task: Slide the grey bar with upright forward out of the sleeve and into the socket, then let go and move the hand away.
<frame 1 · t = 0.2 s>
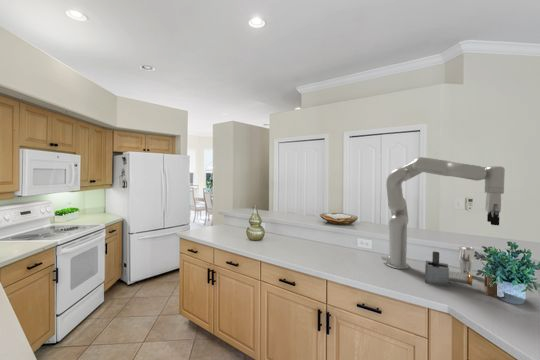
hand: (492, 223, 135), 31 cm above the worktop, fingers open, 9 cm apart
beer glass: (465, 275, 145), on the worktop
socket: (493, 292, 124), on the worktop
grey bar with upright: (449, 267, 133), point 9 cm above the worktop, slide at 0.0 cm
sleeve: (436, 281, 136), on the worktop
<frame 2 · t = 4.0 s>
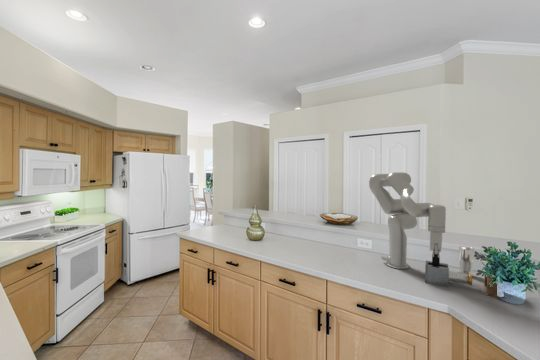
hand: (435, 263, 136), 10 cm above the worktop, fingers closed on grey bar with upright, 3 cm apart
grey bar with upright: (449, 267, 133), point 9 cm above the worktop, slide at 0.0 cm, touching gripper
everything else where it was.
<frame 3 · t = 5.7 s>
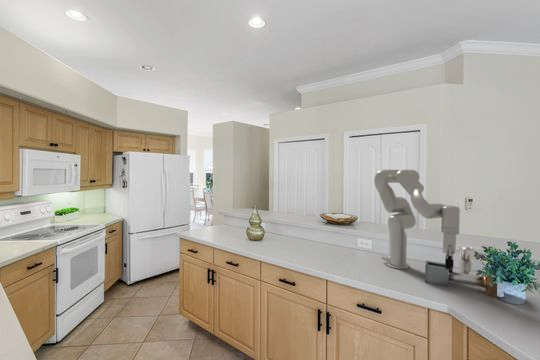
hand: (449, 265, 133), 10 cm above the worktop, fingers closed on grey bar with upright, 3 cm apart
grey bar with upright: (463, 269, 130), point 9 cm above the worktop, slide at 5.8 cm, touching gripper
everything else where it was.
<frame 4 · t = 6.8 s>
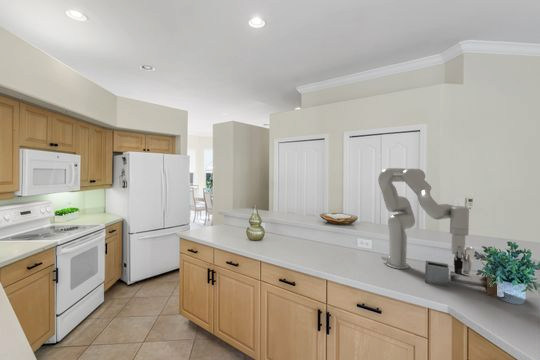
hand: (458, 266, 131), 10 cm above the worktop, fingers closed on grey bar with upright, 3 cm apart
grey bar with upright: (473, 271, 128), point 9 cm above the worktop, slide at 9.5 cm, touching gripper
everything else where it was.
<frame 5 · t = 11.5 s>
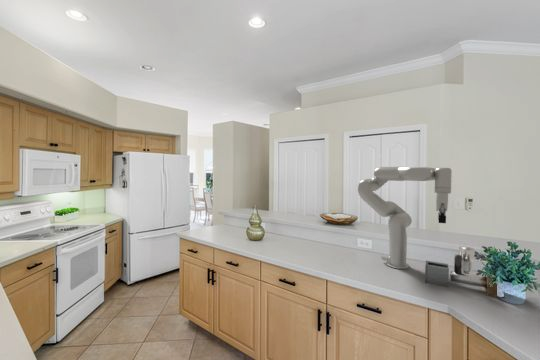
hand: (441, 221, 142), 30 cm above the worktop, fingers open, 9 cm apart
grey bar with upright: (472, 271, 128), point 9 cm above the worktop, slide at 9.4 cm
everything else where it was.
at the end: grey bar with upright slide at 9.4 cm; the gripper is holding nothing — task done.
